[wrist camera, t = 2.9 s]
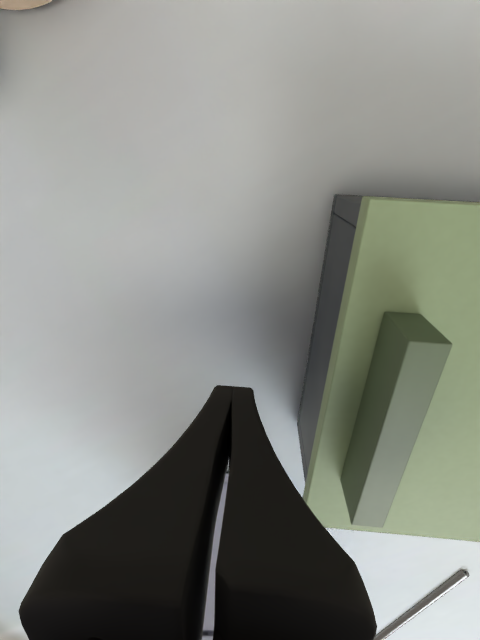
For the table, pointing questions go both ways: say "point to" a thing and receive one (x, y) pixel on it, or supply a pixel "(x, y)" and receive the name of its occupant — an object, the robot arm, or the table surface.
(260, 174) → the table surface
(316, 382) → the bin
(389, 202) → the lid
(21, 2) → the teacup with lid
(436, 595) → the rod
